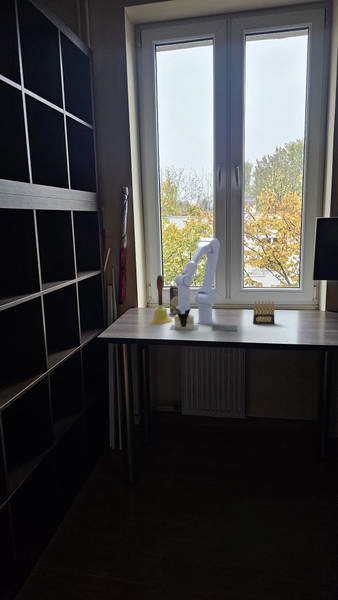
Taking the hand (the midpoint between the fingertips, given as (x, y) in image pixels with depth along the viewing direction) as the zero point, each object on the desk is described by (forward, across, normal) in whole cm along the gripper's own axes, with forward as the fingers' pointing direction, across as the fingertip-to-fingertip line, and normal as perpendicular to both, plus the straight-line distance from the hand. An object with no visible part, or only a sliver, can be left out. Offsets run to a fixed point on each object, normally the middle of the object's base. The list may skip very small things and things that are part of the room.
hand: (184, 324), depth 208 cm
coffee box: (+2, -32, -7) cm, 33 cm away
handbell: (+2, -14, -14) cm, 20 cm away
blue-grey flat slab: (+2, 0, 0) cm, 2 cm away
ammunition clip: (+2, -10, +40) cm, 41 cm away
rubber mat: (+2, 0, +20) cm, 20 cm away
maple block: (+2, 0, 0) cm, 2 cm away
